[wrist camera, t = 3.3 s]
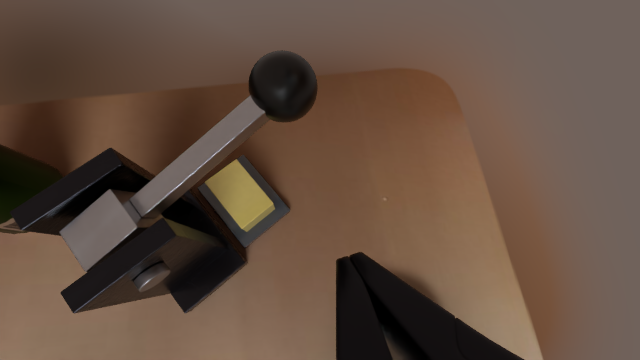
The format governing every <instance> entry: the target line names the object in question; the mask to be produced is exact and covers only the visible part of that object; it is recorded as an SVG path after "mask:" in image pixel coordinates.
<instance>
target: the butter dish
mask: <svg viewBox="0 0 640 360" xmlns="http://www.w3.org/2000/svg"><path fill="white" fill-rule="evenodd" d="M198 190H199V191H200V192H201V194H202V195H203V196H204V197H205V199H206V200H207V201H208V202H209V204H210V205H211V206H212V207H213V209H214V210H215V211H216V213H217V214H218V215H219V216H220V218H221V219H222V220H223V221H224V223H225V224H226V225H227V226H228V228H229V229H230V230H231V232H232V233H233V234H234V235H235V237H236V238H237V239H238V240H239V242H240V243H241V244H242V245H243V247H244V248H246V247H247V246H249V245H250V244H251V243H252V242H253V241H255V240H256V239H257V238H258V237H260V236H261V235H262V234H263V233H264V232H266V231H267V230H268V229H269V228H270V227H272V226H273V225H274V224H275V223H276V222H278V221H279V220H280V219H281V218H283V217H284V216H285V215H286V214H287V213H289V212H290V209H289V208H288V207H287V206H286V204H285V203H284V202H283V201H282V200H281V198H280V197H279V196H278V195H277V194H276V193H275V191H274V190H273V189H272V188H271V187H270V185H269V184H268V183H267V182H266V181H265V180H264V178H263V177H262V176H261V175H260V174H259V172H258V171H257V170H256V169H255V168H254V167H253V165H252V164H251V163H250V162H249V161H248V159H247V158H246V157H245V156H244V155H242V156H240V157H239V158H238V159H235V160H234V161H233V162H231V163H230V164H229V165H227V166H226V167H224V168H223V169H222V170H220V171H219V172H218V173H216V174H215V175H214V176H212V177H211V178H209V179H208V180H207V181H205V183H203V184H202V185H201V186H199V187H198Z"/></svg>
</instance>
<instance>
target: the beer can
mask: <svg viewBox="0 0 640 360" xmlns="http://www.w3.org/2000/svg"><path fill="white" fill-rule="evenodd" d="M62 178H63V176H62V175H61V174H60V172H59V171H58V170H57V169H56V168H54V167H52V166H51V165H49V164H47V163H44V162H42V161H39V160H37V159H35V158H32V157H30V156H27V155H25V154H22V153H20V152H18V151H15V150H13V149H10V148H8V147H6V146H3V145H1V144H0V232H2V233H11V234H17V233H26V232H29V231H22V230H20V228H19V226H18V225H17V223H16V222H15V220H14V219H13V217H12V215H11V214H10V211H12V210H13V209H15V208H16V207H18V206H19V205H21V204H23V203H24V202H26V201H27V200H29V199H30V198H32V197H34V196H35V195H37V194H38V193H40V192H41V191H43V190H44V189H46V188H48V187H49V186H51V185H52V184H54V183H55V182H57V181H59V180H60V179H62Z"/></svg>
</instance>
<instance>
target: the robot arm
mask: <svg viewBox="0 0 640 360" xmlns="http://www.w3.org/2000/svg"><path fill="white" fill-rule="evenodd" d="M336 360H524V359H522V358H520V357H519V356H517V355H515V354H513V353H512V352H510V351H508V350H506V349H505V348H503V347H501V346H500V345H498V344H496V343H495V342H493V341H491V340H490V339H488V338H487V337H485V336H484V335H482V334H480V333H479V332H477V331H476V330H474V329H473V328H471V327H470V326H468V325H467V324H465V323H464V322H463V321H461V320H460V319H458V318H455V316H454V315H452V314H451V313H449V312H448V311H446V310H445V309H444V308H442V307H441V306H439V305H438V304H436V303H435V302H433V301H432V300H430V299H429V298H428V297H426V296H425V295H423V294H422V293H420V292H419V291H417V290H416V289H414V288H413V287H412V286H410V285H409V284H407V283H406V282H404V281H403V280H401V279H400V278H399V277H397V276H396V275H394V274H393V273H391V272H390V271H388V270H387V269H385V268H384V267H383V266H381V265H380V264H378V263H377V262H375V261H374V260H372V259H371V258H369V257H368V256H367V255H365V254H364V253H362V252H358V253H355V254H352V255H350V256H349V257H348V256H346V257H342V258H339V259H337V260H336Z"/></svg>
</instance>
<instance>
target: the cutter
mask: <svg viewBox="0 0 640 360" xmlns="http://www.w3.org/2000/svg"><path fill="white" fill-rule="evenodd" d="M154 177H156V176H154V175H153V174H151V173H150V172H148V171H147V170H145V169H143V168H142V167H140V166H139V165H137V164H136V163H134V162H132V161H131V160H129V159H128V158H126V157H125V156H123V155H122V154H120V153H118V152H117V151H115V150H114V149H112V148H109V149H107V150H106V151H104V152H102V153H101V154H99V155H98V156H96V157H95V158H93V159H91V160H90V161H88V162H87V163H85V164H84V165H82V166H80V167H79V168H77V169H76V170H74V171H73V172H71V173H70V174H68V175H66V176H65V177H63V178H62V179H60V180H59V181H57V182H55V183H54V184H52V185H51V186H49V187H48V188H46V189H44V190H43V191H41V192H40V193H38V194H37V195H35V196H34V197H32V198H30V199H29V200H27V201H26V202H24V203H23V204H21V205H19V206H18V207H16V208H15V209H13V210H12V211H10V214H11V215H12V217H13V219H14V220H15V222H16V223H17V225H18V226H19V228H20V230H22V231H29V232H36V233H44V234H51V235H59V236H61V234H60V233H59V231H60V230H62V229H63V228H64V227H65V226H66V225H68V224H69V223H70V222H71V221H72V220H73V219H75V218H76V217H77V216H78V215H79V214H80V213H82V212H83V211H84V210H85V209H86V208H87V207H89V206H90V205H91V204H92V203H93V202H94V201H96V200H97V199H98V198H99V197H100V196H102V195H103V194H104V193H105V192H106V191H107V190H109V189H114V190H121V191H128V192H134V193H137V192H138V191H139V190H140V189H141V188H143V187H144V186H145V185H146V184H147V183H149V182H150V181H151V180H152V179H153V178H154ZM161 215H162V216H163V217H164V218H161V219H160V220H158V221H157V222H156V223H154V224H153V225H151V226H150V227H149V228H147V229H146V230H145V231H143V232H142V233H141V234H139V235H138V236H136V237H135V238H134V239H132V240H131V241H130V242H128V243H127V244H126V245H124V246H123V247H121V248H120V249H119V250H117V251H116V252H115V253H113V254H112V255H111V256H109V257H108V258H106V259H105V260H104V261H102V262H101V263H100V264H98V265H97V266H96V267H94V268H93V269H91V270H90V271H89V272H87V273H86V274H85V275H83V276H82V277H81V278H79V279H78V280H76V281H75V282H74V283H72V284H71V285H70V286H68V287H67V288H66V289H64V290H63V291H61V295H62V296H63V298H64V299H65V301H66V302H67V304H68V306H69V307H70V309H71V310H72V312H73V313H78V312H83V311H88V310H93V309H97V308H102V307H107V306H112V305H117V304H122V303H126V302H131V301H136V300H141V299H146V298H151V297H156V296H160V295H165V294H170V293H171V295H172V296H173V297H174V299H175V300H176V302H177V303H178V304H179V306H180V307H181V309H182V310H183V311H184V313H187V312H189V311H192V310H193V309H194V308H195V307H196V306H198V305H199V304H200V303H201V302H202V301H204V300H205V299H206V298H207V297H208V296H209V295H211V294H212V293H213V292H214V291H215V290H217V289H218V288H219V287H220V286H221V285H223V284H224V283H225V282H226V281H227V280H228V279H230V278H231V277H232V276H233V275H234V274H236V273H237V272H238V271H239V270H240V269H242V268H243V267H244V266H245V265H246V264H247V263H248V262H247V261H246V260H245V259H244V257H243V256H242V255H241V253H240V252H239V251H238V250H237V248H236V247H235V246H234V245H233V243H232V242H231V241H230V239H229V238H228V237H227V236H226V234H225V233H224V232H223V230H222V229H221V228H220V227H219V225H218V224H217V223H216V222H215V220H214V219H213V218H212V216H211V215H210V214H209V213H208V211H207V210H206V209H205V208H204V206H203V205H202V204H201V202H200V201H199V200H198V199H197V197H196V196H195V195H194V193H193V192H192V191H191V190H190V189H189V190H188V191H186V192H185V193H184V194H183V195H182V196H181V197H180V198H178V199H177V200H176V201H175V202H174V203H173V204H171V205H170V206H169V207H168V208H167V209H166V210H164V211H163V212H162V213H161Z"/></svg>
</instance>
